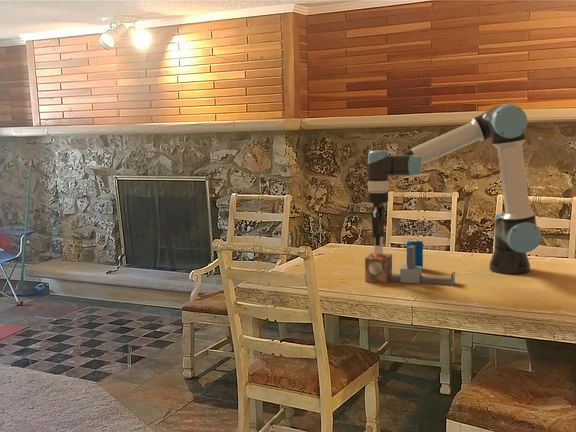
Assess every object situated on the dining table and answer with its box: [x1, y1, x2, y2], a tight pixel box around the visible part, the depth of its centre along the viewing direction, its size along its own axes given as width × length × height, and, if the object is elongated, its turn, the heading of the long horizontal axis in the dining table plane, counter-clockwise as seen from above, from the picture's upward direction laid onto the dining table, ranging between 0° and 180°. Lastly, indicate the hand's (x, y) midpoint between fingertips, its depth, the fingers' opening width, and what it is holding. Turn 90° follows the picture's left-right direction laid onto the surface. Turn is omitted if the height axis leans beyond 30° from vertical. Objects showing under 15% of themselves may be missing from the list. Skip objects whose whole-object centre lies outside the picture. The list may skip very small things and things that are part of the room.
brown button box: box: [364, 252, 393, 284], centre depth 235 cm, size 8×10×9 cm
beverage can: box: [406, 238, 424, 269], centre depth 249 cm, size 6×6×12 cm
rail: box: [388, 271, 456, 287], centre depth 229 cm, size 24×5×4 cm, turn 68°
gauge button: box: [374, 253, 384, 258], centre depth 234 cm, size 4×4×6 cm
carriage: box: [399, 245, 423, 284], centre depth 230 cm, size 7×6×13 cm
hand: (378, 253), depth 234 cm, fingers closed
